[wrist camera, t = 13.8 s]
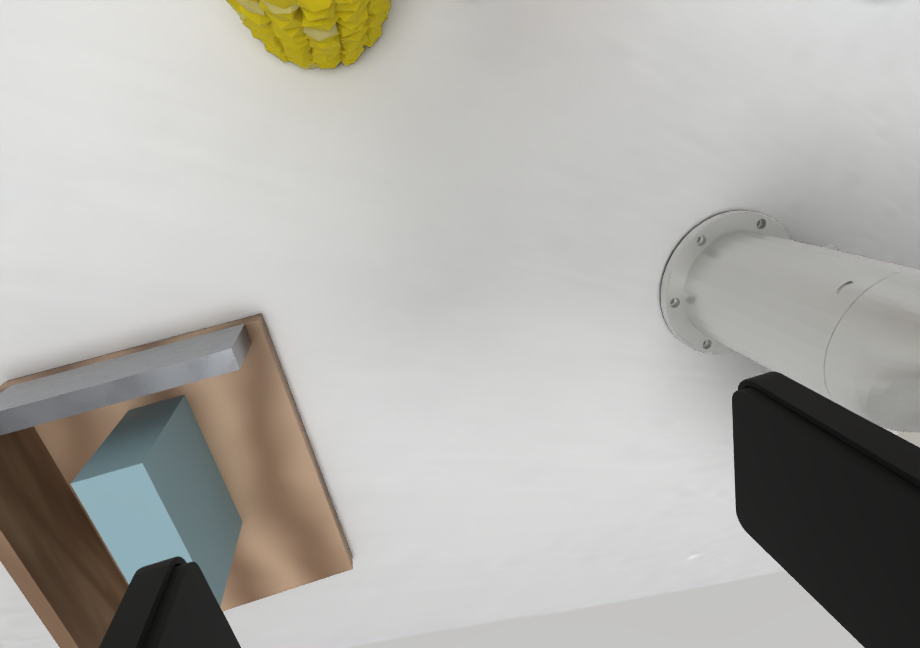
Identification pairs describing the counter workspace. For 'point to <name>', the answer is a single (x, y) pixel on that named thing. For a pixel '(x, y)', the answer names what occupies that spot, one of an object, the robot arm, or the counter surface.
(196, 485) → the book
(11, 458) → the shelf
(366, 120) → the counter surface
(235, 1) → the food
